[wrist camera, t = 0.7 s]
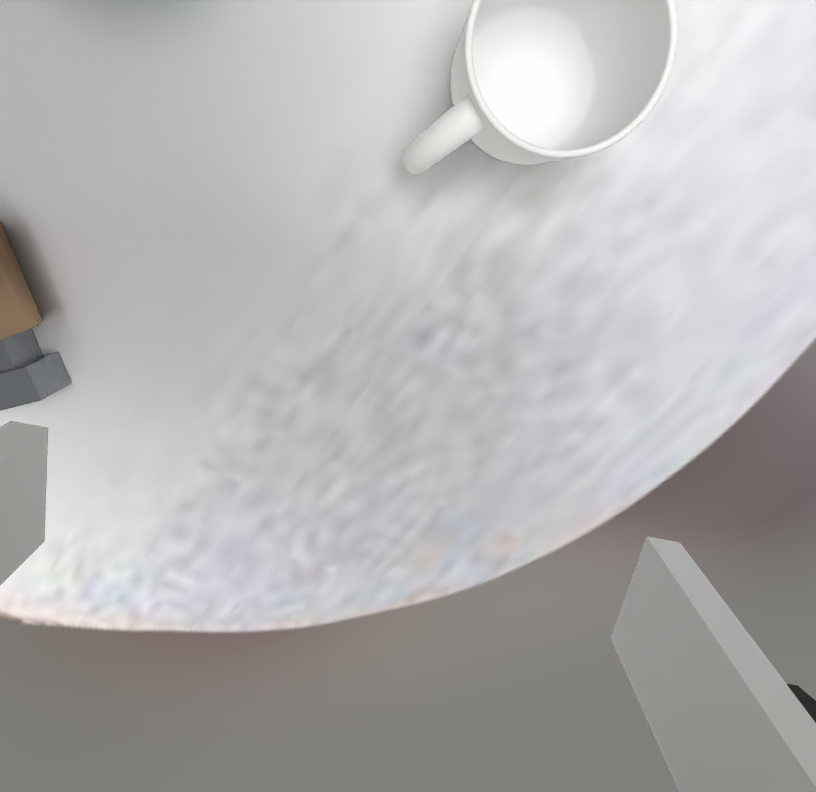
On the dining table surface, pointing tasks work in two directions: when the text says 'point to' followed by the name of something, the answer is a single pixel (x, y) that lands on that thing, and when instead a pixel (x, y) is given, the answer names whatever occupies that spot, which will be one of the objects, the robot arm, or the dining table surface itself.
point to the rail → (28, 371)
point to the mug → (551, 78)
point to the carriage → (14, 294)
